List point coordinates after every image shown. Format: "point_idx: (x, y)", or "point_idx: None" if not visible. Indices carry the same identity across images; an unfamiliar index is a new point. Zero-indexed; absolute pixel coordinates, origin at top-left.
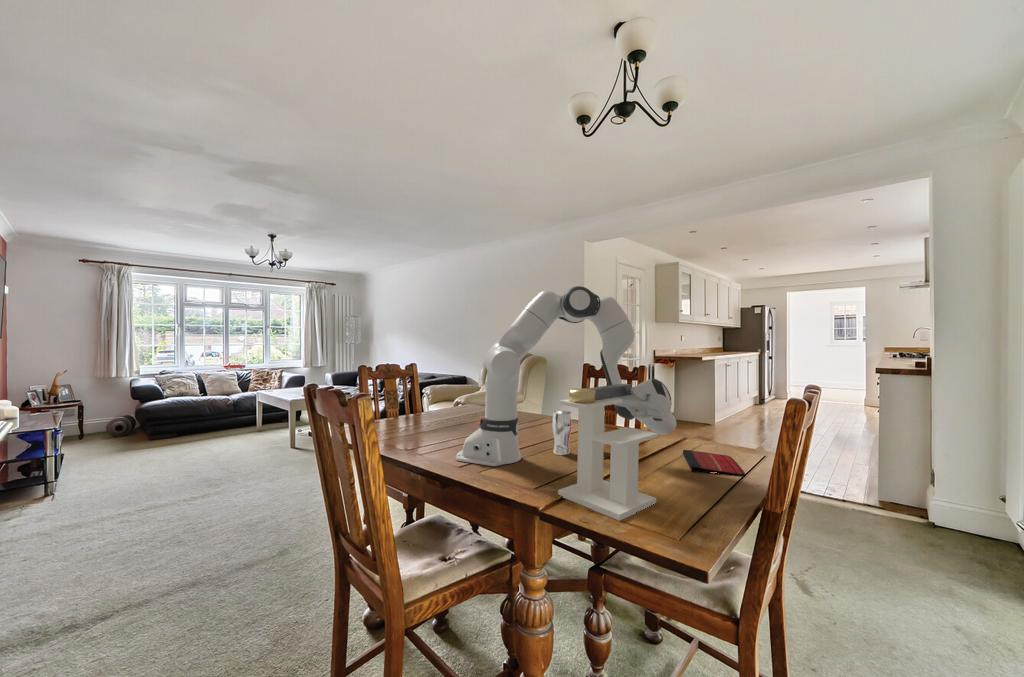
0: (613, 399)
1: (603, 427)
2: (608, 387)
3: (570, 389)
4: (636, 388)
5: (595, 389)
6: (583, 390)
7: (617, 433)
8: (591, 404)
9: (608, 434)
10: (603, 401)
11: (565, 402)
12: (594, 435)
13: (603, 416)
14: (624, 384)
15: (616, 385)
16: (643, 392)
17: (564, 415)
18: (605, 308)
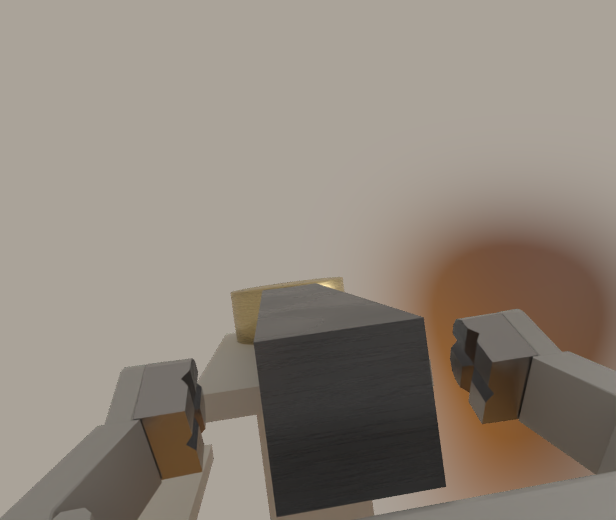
0: (226, 375)
1: (270, 511)
2: (275, 297)
3: (327, 278)
4: (123, 374)
5: (266, 290)
6: (277, 285)
7: (146, 507)
8: (223, 339)
9: (172, 480)
10: (227, 354)
11: None
12: (207, 451)
13: (261, 448)
14: (338, 318)
15: (321, 303)
16: (33, 496)
17: None
18: None
